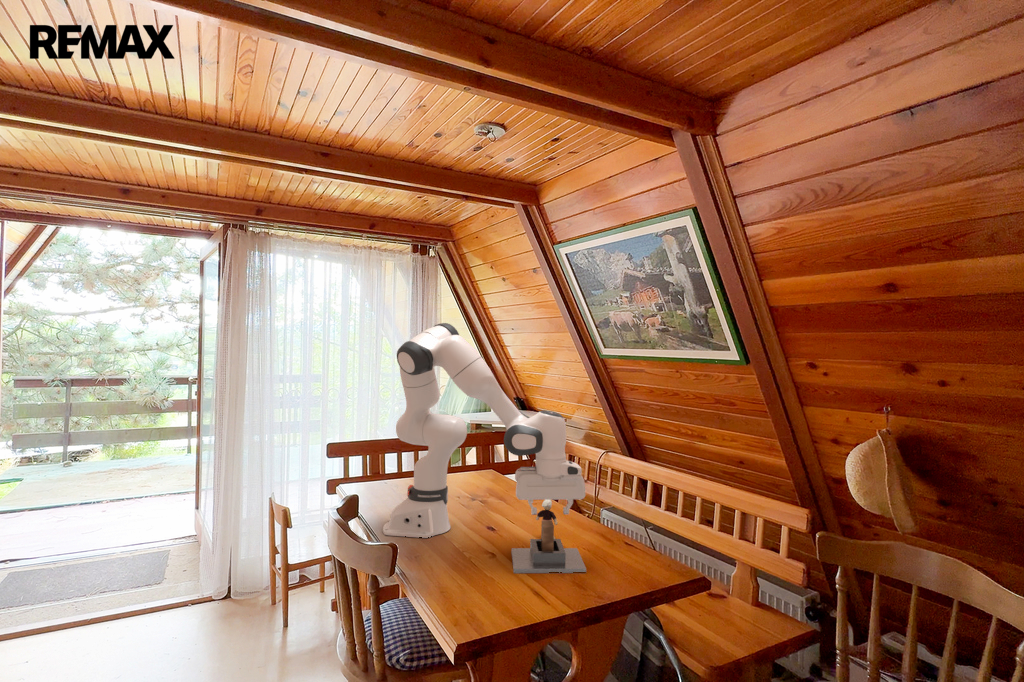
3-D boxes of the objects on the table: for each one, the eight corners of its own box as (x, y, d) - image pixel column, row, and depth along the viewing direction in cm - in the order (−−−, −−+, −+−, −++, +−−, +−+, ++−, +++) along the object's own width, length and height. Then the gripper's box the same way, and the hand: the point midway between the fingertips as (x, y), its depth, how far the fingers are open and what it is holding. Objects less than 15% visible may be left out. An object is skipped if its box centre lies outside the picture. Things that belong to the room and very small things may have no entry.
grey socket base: (513, 573, 147) (514, 555, 147) (511, 552, 162) (511, 536, 162) (586, 572, 148) (586, 555, 148) (577, 552, 163) (577, 536, 163)
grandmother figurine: (559, 537, 175) (560, 498, 175) (556, 541, 171) (557, 502, 171) (537, 534, 177) (537, 496, 178) (533, 538, 174) (534, 499, 174)
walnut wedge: (542, 561, 152) (543, 526, 152) (541, 554, 157) (541, 520, 157) (553, 561, 152) (553, 526, 152) (551, 554, 157) (551, 520, 157)
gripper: (516, 469, 152) (515, 518, 152) (587, 469, 154) (586, 517, 154) (514, 464, 159) (513, 511, 159) (582, 464, 160) (581, 510, 160)
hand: (550, 514), depth 156 cm, fingers open, 8 cm apart
